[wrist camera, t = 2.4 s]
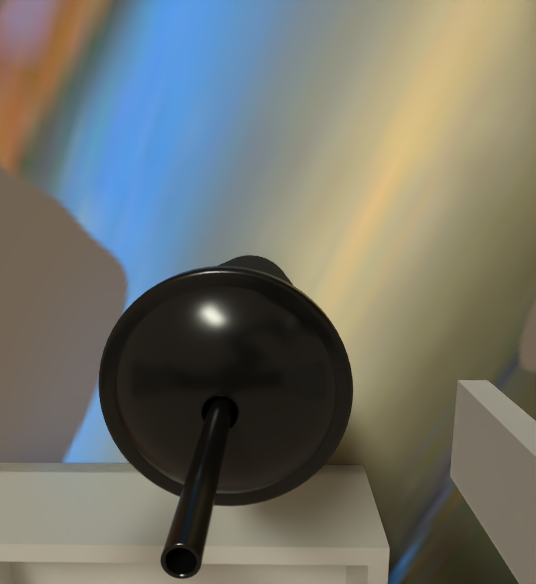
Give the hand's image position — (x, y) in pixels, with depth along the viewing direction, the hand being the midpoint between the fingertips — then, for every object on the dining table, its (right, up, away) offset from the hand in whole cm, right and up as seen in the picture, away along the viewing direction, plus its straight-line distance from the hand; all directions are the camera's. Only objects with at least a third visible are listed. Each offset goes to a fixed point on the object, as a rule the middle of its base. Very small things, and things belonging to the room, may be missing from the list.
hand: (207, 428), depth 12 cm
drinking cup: (+1, +3, +15) cm, 16 cm away
